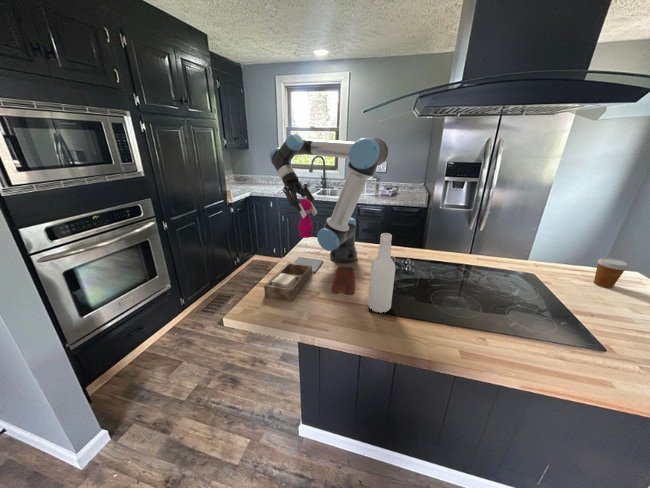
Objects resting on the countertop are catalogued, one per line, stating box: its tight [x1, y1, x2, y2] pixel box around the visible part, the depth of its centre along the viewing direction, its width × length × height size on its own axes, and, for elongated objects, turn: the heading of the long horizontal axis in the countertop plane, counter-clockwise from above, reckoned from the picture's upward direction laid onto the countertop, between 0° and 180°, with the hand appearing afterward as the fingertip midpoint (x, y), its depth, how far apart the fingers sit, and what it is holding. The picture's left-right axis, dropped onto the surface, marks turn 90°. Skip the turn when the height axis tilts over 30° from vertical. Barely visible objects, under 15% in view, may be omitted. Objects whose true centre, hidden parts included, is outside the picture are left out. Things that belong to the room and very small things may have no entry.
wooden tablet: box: [331, 266, 356, 296], centre depth 124 cm, size 27×10×2 cm, turn 173°
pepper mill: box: [297, 196, 314, 239], centre depth 128 cm, size 7×7×20 cm
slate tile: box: [293, 256, 324, 274], centre depth 137 cm, size 14×14×1 cm
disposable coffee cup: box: [593, 257, 629, 289], centre depth 119 cm, size 10×10×12 cm
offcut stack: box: [272, 274, 296, 289], centre depth 112 cm, size 9×9×6 cm
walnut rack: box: [263, 261, 313, 302], centre depth 117 cm, size 12×24×5 cm, turn 163°
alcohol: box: [367, 232, 396, 314], centre depth 98 cm, size 9×9×30 cm
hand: (310, 215), depth 125 cm, fingers closed on pepper mill, 6 cm apart
